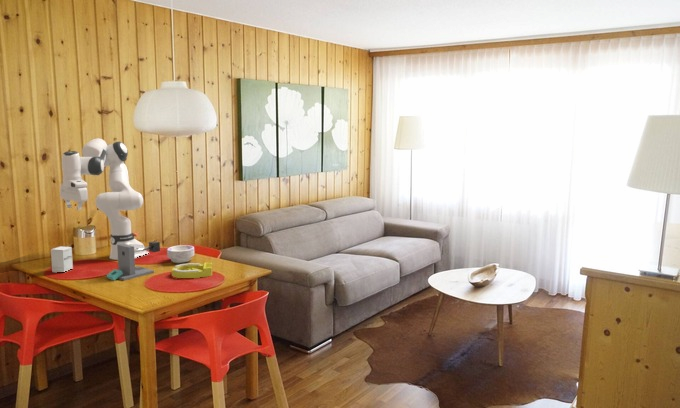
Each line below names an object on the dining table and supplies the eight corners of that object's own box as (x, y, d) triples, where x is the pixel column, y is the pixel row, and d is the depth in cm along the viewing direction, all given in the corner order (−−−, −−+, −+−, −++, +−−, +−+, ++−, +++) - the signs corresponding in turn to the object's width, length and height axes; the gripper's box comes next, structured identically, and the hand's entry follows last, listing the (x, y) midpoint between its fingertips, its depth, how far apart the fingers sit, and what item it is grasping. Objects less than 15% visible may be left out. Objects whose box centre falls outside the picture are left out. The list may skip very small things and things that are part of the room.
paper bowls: (162, 260, 311) (162, 247, 310) (187, 256, 321) (187, 243, 320) (174, 266, 300) (173, 252, 299) (199, 261, 310) (198, 248, 309)
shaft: (155, 249, 297) (155, 241, 296) (160, 250, 295) (159, 242, 294) (123, 257, 281) (122, 247, 280) (128, 258, 278) (127, 249, 278)
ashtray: (211, 278, 279) (211, 269, 279) (170, 280, 275) (170, 271, 274) (212, 269, 295) (212, 261, 294) (173, 271, 291) (173, 262, 290)
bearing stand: (137, 268, 295) (136, 239, 292) (153, 272, 287) (152, 243, 284) (107, 275, 280) (106, 246, 277) (124, 280, 272) (122, 250, 270)
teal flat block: (115, 268, 278) (106, 275, 274) (121, 270, 275) (112, 277, 271) (116, 271, 279) (107, 278, 275) (123, 273, 276) (114, 280, 272)
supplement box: (64, 273, 283) (62, 250, 281) (51, 272, 284) (50, 249, 282) (73, 269, 290) (72, 246, 288) (61, 268, 292) (60, 245, 290)
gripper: (55, 181, 282) (57, 207, 284) (77, 184, 270) (79, 211, 273) (67, 180, 287) (69, 206, 289) (89, 183, 276) (91, 210, 278)
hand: (74, 208), depth 281 cm, fingers open, 8 cm apart
